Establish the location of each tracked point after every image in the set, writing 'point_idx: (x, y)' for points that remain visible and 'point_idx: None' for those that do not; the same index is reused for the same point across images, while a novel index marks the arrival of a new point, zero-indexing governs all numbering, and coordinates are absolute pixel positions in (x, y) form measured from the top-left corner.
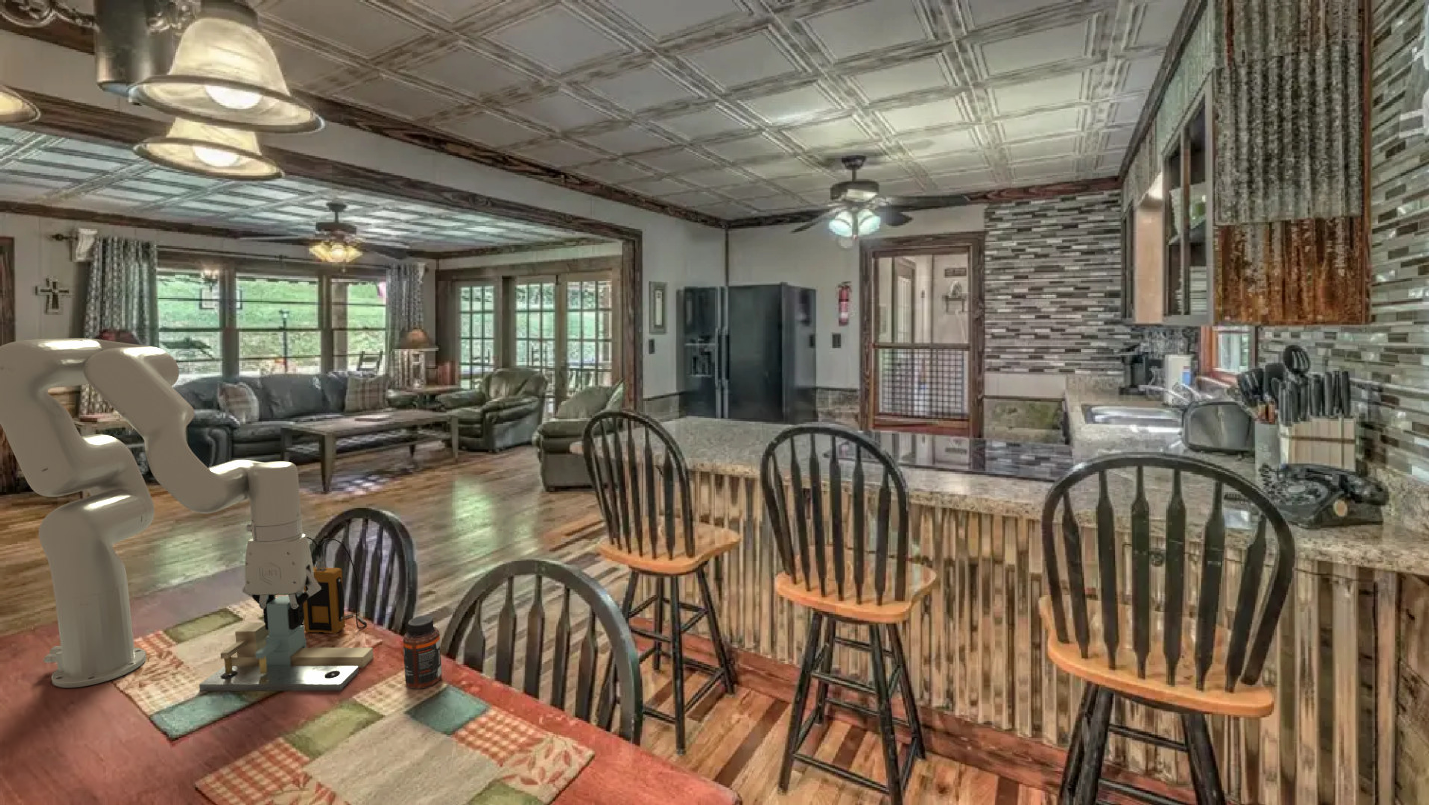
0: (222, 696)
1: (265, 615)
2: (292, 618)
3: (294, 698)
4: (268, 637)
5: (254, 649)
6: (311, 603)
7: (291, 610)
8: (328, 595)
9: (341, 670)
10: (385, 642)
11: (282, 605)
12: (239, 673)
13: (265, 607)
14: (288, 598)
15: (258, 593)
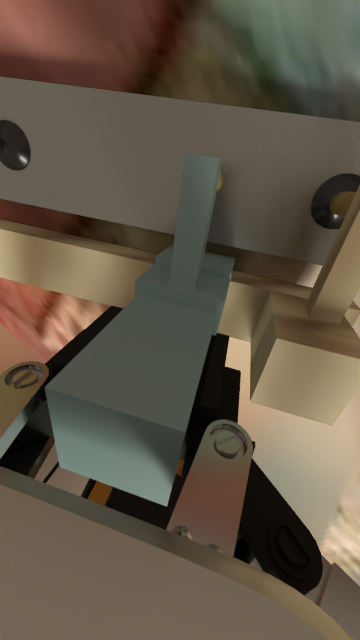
0: (331, 76)
1: (215, 379)
2: (85, 332)
3: (71, 30)
4: (213, 299)
5: (278, 302)
6: (177, 482)
7: (55, 356)
8: (114, 488)
9: (3, 172)
10: (31, 331)
11: (75, 389)
12: (304, 209)
13: (211, 425)
14: (92, 461)
15: (199, 574)
